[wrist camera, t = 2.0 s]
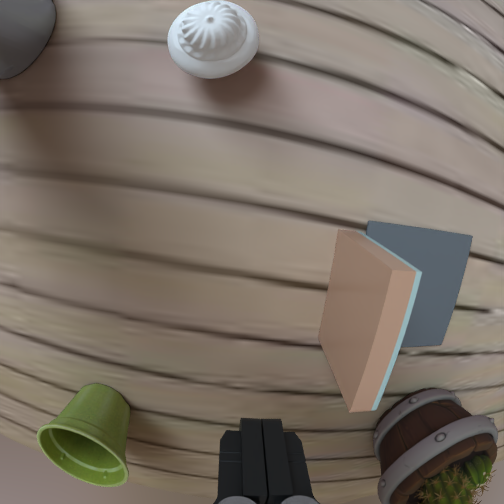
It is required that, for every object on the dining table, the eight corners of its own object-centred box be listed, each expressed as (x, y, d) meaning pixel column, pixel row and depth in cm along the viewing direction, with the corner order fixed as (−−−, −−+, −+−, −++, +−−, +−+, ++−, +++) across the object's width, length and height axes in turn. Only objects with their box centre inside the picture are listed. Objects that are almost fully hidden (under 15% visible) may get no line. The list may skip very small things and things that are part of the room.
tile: (338, 229, 25) (392, 269, 16) (360, 231, 26) (422, 272, 16) (318, 337, 28) (349, 412, 19) (338, 338, 28) (375, 410, 19)
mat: (368, 220, 25) (369, 221, 25) (471, 235, 26) (472, 236, 26) (341, 347, 29) (341, 348, 28) (440, 343, 29) (441, 344, 29)
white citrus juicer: (268, 34, 21) (278, -6, 14) (239, 99, 22) (239, 77, 16) (195, 12, 20) (182, -31, 13) (164, 76, 21) (138, 48, 15)
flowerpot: (473, 394, 33) (547, 490, 13) (391, 464, 35) (435, 570, 16) (432, 348, 29) (539, 477, 10) (331, 436, 32) (374, 582, 13)
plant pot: (153, 390, 29) (133, 453, 21) (139, 441, 32) (123, 497, 23) (70, 356, 28) (33, 409, 20) (67, 412, 30) (41, 462, 22)
